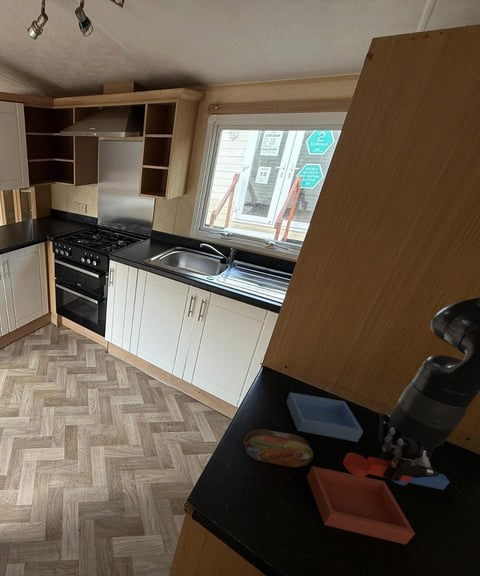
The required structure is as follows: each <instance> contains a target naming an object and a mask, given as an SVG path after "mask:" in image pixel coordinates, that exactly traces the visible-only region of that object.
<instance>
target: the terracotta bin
mask: <svg viewBox="0 0 480 576" xmlns="http://www.w3.org/2000/svg"><path fill="white" fill-rule="evenodd" d="M310 467H311V468H310V470H309V472H308V473H307V475H306V478H307V481H308V484H309V487H310V490H311V492H312V496H313V498H314V501H315V503H316V506H317V509H318V512H319V514H320V517H321V520H322V522H323V526H326V527H332V528H336V529H340V530H343V531H348V532H352V533H356V534H360V535H364V536H369V537H373V538H377V539H380V540H385V541H390V542H394V543H397V544H401V545H407V544H408V543H409V542H410V541H411V540H412V538H413V537H414V536H415V535H416V532H415V531H414V529H413V527H412V526H411V524H410V522H409V521H408V519H407V517H406V515H405V514H404V512H403V510H402V508H401V507H400V505H399V503H398V502H397V500H396V499H395V496H394V495H393V493H392V491H391V490H390V487H388V485H387V483H386V481H385V480H380V479H375V478H370V477H367V476H365V477H359V476H356V475H354V474H352V473H348V472H343V471H337V470H332V469H330V468H329V469H328V468H323V467H319V466H313V465H311V466H310Z"/></svg>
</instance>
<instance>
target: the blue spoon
mask: <svg viewBox="0 0 480 576" xmlns="http://www.w3.org/2000/svg"><path fill="white" fill-rule="evenodd" d="M391 482H393V483H395V484H397V485H400V486H407V485H408V484H413V485H418V486H423V487H427V488H432V489H437V490H442V491H444V490H445V489H446V487H447V486H448V485H449V484H450V480H449V478H447V476H446V474H445V473H444V474H443V473H439V475H438V476H433V477H421V478H415V477H411V479H410V480H409V481H408V482H404V481H394V480H391Z"/></svg>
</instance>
